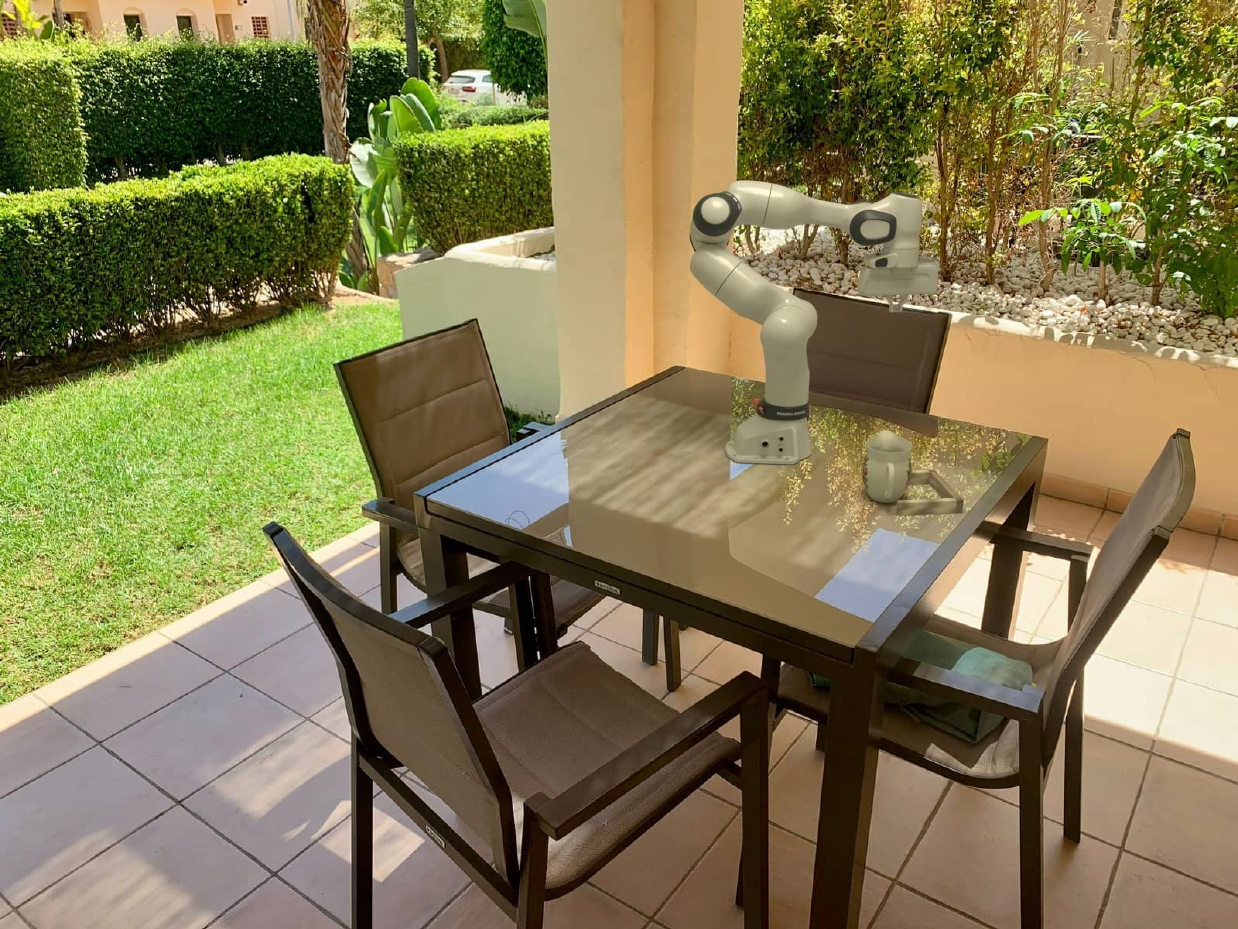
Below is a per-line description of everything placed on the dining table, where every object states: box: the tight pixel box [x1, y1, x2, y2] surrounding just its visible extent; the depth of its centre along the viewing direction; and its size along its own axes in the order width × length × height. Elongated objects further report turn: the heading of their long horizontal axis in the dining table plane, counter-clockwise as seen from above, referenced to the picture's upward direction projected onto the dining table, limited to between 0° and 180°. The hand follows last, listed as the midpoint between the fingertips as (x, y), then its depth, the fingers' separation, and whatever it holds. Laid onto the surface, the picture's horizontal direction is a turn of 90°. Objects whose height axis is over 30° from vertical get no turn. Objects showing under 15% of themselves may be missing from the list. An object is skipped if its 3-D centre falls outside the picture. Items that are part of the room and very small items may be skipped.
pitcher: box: [861, 429, 913, 504], centre depth 213 cm, size 11×18×14 cm, turn 170°
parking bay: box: [895, 469, 965, 516], centre depth 215 cm, size 14×18×3 cm
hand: (895, 311), depth 242 cm, fingers closed
